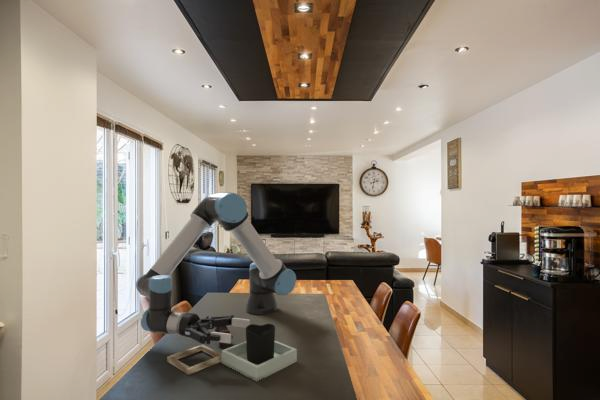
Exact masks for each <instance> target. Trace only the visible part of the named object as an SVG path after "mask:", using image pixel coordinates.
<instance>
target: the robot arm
mask: <svg viewBox="0 0 600 400" xmlns="http://www.w3.org/2000/svg"><path fill="white" fill-rule="evenodd" d="M247 208H248V205H247V201H246V200H245V199H244V197H243V196H242V195H240V194H238V193H236V192H235V193H234V192H230V191H226V192H221V193H220V192H215V193H211V194H209V195H207V196H205V197H204V198H203V199H202V200H201V201H200V203H198V204H197V206H196V207H195V209H193V211H192V212H191V214H190V219H189V220H188V221H187V222H186V224H184V226H183V227H182V229H181V230H180V231H179V233H177V234H176V236H175V238H173V240H172V241H171V243H170V244H169V245H168V246H167V248H166V249H165V250H164V251H163V252H162V253H161V255H160V256H159V257H158V259H157V260H156V261H155V262H154V264H153V265H152V266H151V268H150V269H149V270H148V271H147V272H146V274H145V273H144V274H142V275H141V276H139V277H138V278H137V280H136V282H135V289H136V290H137V291H138V293H140V295H141V296H144V297H146V298H147V299H148V308H147V310H145V311H144V312H143V313H142V316H141V319H140V325H141V328H142V330H143V331H147V332H151V333H153V334H155V333H156V334H165V335H174V336H176V337H178V336H182V337H186V338H189V339H192V340H193V341H196V342H198V343H199V344H200V345H202V344H203V345H205V344H206V345H210V344H211V342H215V343H219V342H222V343H229V344H228V345H230V344H232V340H231V334H232V333H231V334H228V333H220V332H215V331H211V332H210V331H209V330H213V329H214V330H215V328H216V327H220V326H231V327H235V328H237V327H238V328H245V329H246V327H247V326H248V325H251V320H250V319H247V318H239V317H235V315H234V314H231V315H214V316H212V315H207V316H205V317H204V318H200V316H199V315H198V314H197V313H192V312H186V311H185V312H184V311H183V312H182V311H173V310H172V309H173V308H172V307H173V305H172V304H173V287H174V286H173V278H172V276H171V275H172V274H173V273H174V271H175V269H176V268H177V266H178V265H180V263H181V262H182V260H183V259H184V258H185V256H187V254H188V252H189V251H190V250H191V249H192V247H193V246H194V245H195V243H196V242H197V241H198V240H199V239H200V237H201V236H202V235H203V233H204V232H205V231H206V230H207V229H210V228H211V227H212V225H214V224H215V223H216V222H217V223H219V224H220V226H221V227H222V228H223V230H224V231H225V232H231V234H232V236H233V237H234V238H235V239H236V241H237V243H239V245H240V246H241V247H242V249H243V250H244V252H245V253H246V254H247V255H248V257H249V258H250V259H251V261H252V262H251V263H250V265H249V271H248V272H249V294H248V296H247V300H246V304H245V312H247V313H248V314H252V315H268V314H269V315H270V314H273V313H275V312H277V310H278V303H277V299H276V297H275V294H276V295H278V296H288V295H289V294H290V293H292V291H293V290H294V288H295V287H296V282H297V275H296V273H295V272H294V271H293V270H292V269H290V268H287V267H286V265H285V264H284V263H283V261H282V260H281V259H279V258H276V257H275V256H274V254H273V253H272V252H271V250H270V249H269V247H268V246H267V244H266V243H265V242H264V240H263V239H262V237H261V236H260V234H259V233H258V232H257V230H256V229H255V226H253V224H252V223H251V222H250V220H249V216H250V214H249V212H248V210H247Z"/></svg>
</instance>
